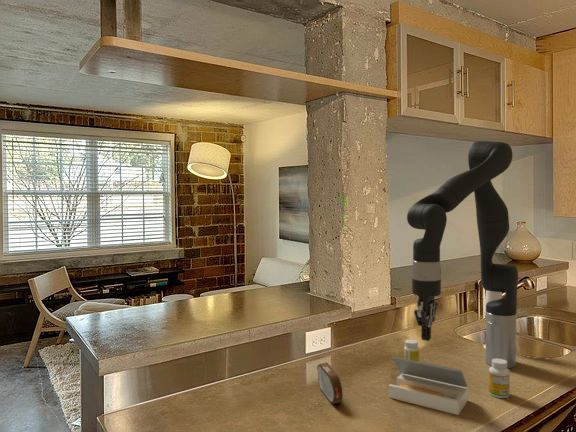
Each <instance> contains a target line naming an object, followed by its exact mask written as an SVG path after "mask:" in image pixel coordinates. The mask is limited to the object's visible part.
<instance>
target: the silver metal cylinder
mask: <svg viewBox="0 0 576 432" xmlns="http://www.w3.org/2000/svg"><path fill="white" fill-rule="evenodd" d="M484 296H485V298H484V299H485V300H484V306H483V307H484V308H483V314H484V315H485V316H486V304H487V303H488V302H490V301H493V300H498V299H501V298H503V292H494V291H488V290H485V295H484ZM483 348H484V349H486V344H484V345H483Z"/></svg>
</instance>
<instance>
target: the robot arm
mask: <svg viewBox="0 0 576 432" xmlns="http://www.w3.org/2000/svg"><path fill="white" fill-rule="evenodd" d="M467 155H468V156H467V157H468V158H467V160H468V162H467V163H468V167H469V168H468V169H469V170H466V171H464V172H461V173H459V174H455V175H454V176H453V177H451V178H450V179H448V180H446V181H445V182H444V183H442V185H440V186H439V187H438V188H437V189H436V190H435V191H434V192H432V193H431V194H428V195H426V196H425V197H423V198H421V199H420V200H418V201H416V202H415V203H413V204H412V205H411V207H410V208H409V209H408V212H407V214H406V221H407V224H408V225H409V226H410V227H411V228H414V229H416V230H424V234H423V236H422V237H421V238H417V239H415V240H414V241H413V244H412V254H413V255H412V259H413V260H412V269H411V279H412V280H411V285H412V286H411V289H412V290H411V291H412V295H415V296H418V300H417V301H416V302H417V303H416V308H417V309H414V312H413V313H414V316H415V320H416V322H417V325H418V326H419V327H421V339H422V341H430V340H431V339H432V326H433V323H434V322H435V320H436V314H437V310H438V306H439V305H438V302H437V301H436V300H435V298H436V297H439V296H440V295H442V269H441V244H442V241H443V238H444V233H445V230H446V225H447V221H448V220H447V217H448V216H447V213H450V212H452V211H453V210H455V208H457V207H458V206H459V205H461V203H462V202H463V201H464V200H465V199H466V198H468V196H470V195H471V194H472V193H474V202H475V212H476V216H475V217H476V225H477V232H478V239H479V248H480V282H481V285H482V288H483V290H485V291H486V290H488V291H494V292H502V294H504V293H505V295H504V296H502V298H501V299H498V300H493V301H490V302H488V303H487V304H486V315H485V345H486V348H485V363H486V364H487V365H489V366H490V367H491V366H492V359H503V360H506V361H507V369H511V368H512V369H513V368H515V367H516V366H517V303H518V285H519V272H518V268H517V266H516V265H513V264H503V263H494V262H493V258H494V255H495V253H496V251H497V250H498V248H499V247H500V246H501V244H502V243H503V241H504V240H505V238H506V237H507V236H508V234H509V231H510V216H509V209H508V207H507V205H506V203H505V202H504V200H503V199H502V197H501V196H500V194H499V193H498V191H497V190H496V188H495V187H494V185H493V182H492V180H494V179H495V178H496V177H498V176H500V175H502V174H503V173H504V172H506V171H507V170H508V168H509V167H510V166H511V163H512V160H513V150H512V147H511V145H509V144H508V143H506V142H503V141H488V140H486V141H485V140H478V141H474V142H473V143H472V144H471V145H470V147H469V149H468V154H467Z"/></svg>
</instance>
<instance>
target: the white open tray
mask: <svg viewBox="0 0 576 432" xmlns="http://www.w3.org/2000/svg"><path fill="white" fill-rule="evenodd" d="M400 385H407V386H412V387H416V388H421V389H426V390H431V391H436V392H440V393H442V394H443V395H444V397H443V396H438V395H434V394H430V393H426V392H422V391H417V390H413V389H409V388H405V387H401V386H400ZM388 398H390V399H393V400H398V401H401V402H406V403H410V404H414V405H417V406H422V407H424V408H428V409H433V410H438V411H440V412H441V411H442V412H443V413H444V412H445V413H447V414H453V415H456V416H459V415H460V413H461V412H462V410H463V408H464V407H465V405H466V404H467V402H469V387H467V388H466V387H461V386H457V385H452V384H448V383H443V382H439V381H434V380H429V379H425V378H420V377H416V376H411V375H407V374H402V373H400V374H399V375H398V376H397V377H396V385H395V384H391V383H390V384H388Z"/></svg>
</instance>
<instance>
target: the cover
mask: <svg viewBox="0 0 576 432" xmlns="http://www.w3.org/2000/svg"><path fill="white" fill-rule="evenodd" d="M391 358H392V360H393V362H394V364H395V366H396V367H397V369H398V370H399V373H400V374H407V375H411V376H416V377H420V378H425V379H429V380H434V381H439V382H443V383H448V384H452V385H457V386H461V387H466V388H469V387H468V384H467V380H466V379H465V376H464V374H463V371H462V369H458V368H452V367H447V366H443V365H439V364H433V363H427V362H422V361H419V362H418V361H413V360H408V359H404V357H403V358H402V357H397V356H392V357H391Z"/></svg>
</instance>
